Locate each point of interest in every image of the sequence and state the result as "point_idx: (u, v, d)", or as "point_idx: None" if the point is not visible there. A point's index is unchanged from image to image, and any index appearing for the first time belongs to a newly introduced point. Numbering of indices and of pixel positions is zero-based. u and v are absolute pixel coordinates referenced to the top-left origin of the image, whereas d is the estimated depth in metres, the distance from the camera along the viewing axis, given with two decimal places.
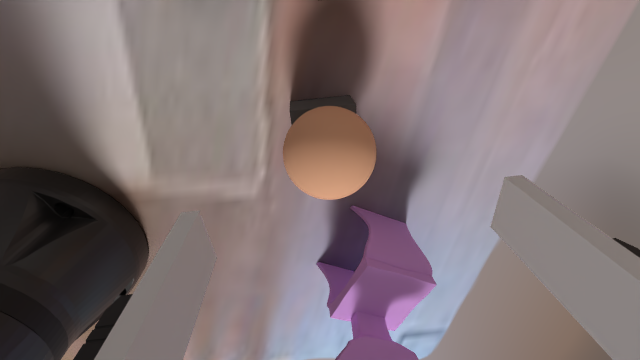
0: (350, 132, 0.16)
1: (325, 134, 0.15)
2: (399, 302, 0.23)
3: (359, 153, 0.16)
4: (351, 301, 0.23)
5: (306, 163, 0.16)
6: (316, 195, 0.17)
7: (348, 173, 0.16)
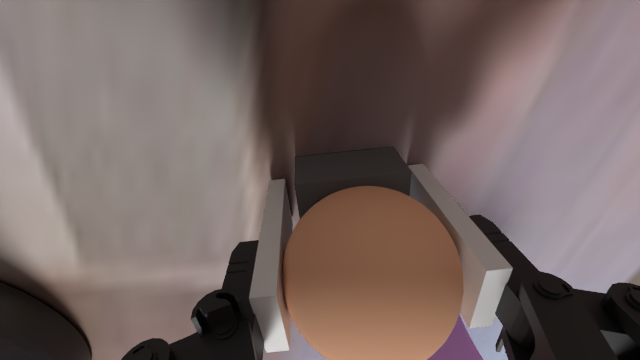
0: (426, 269, 0.07)
1: (374, 277, 0.07)
2: None
3: (444, 311, 0.07)
4: None
5: (331, 332, 0.07)
6: None
7: (420, 353, 0.07)
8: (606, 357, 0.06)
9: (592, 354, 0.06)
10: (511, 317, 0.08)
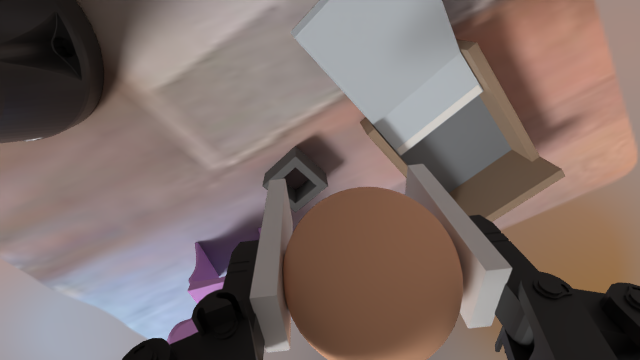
0: (426, 270, 0.07)
1: (375, 277, 0.07)
2: None
3: (444, 311, 0.07)
4: (213, 290, 0.28)
5: (331, 332, 0.07)
6: None
7: (420, 353, 0.07)
8: (605, 357, 0.06)
9: (591, 354, 0.06)
10: (510, 317, 0.08)
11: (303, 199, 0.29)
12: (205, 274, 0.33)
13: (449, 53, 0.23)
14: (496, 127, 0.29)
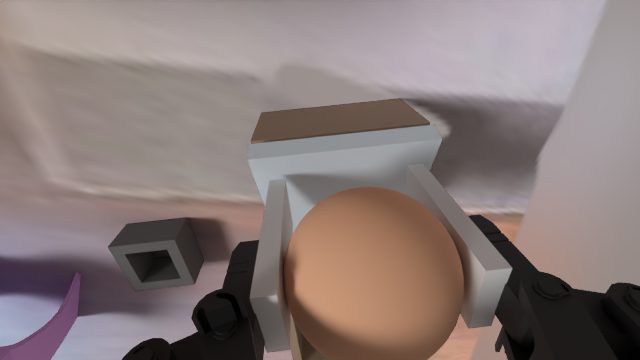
0: (426, 270, 0.07)
1: (375, 277, 0.07)
2: None
3: (445, 311, 0.07)
4: None
5: (332, 332, 0.07)
6: None
7: (421, 352, 0.07)
8: (605, 357, 0.06)
9: (591, 354, 0.06)
10: (510, 317, 0.08)
11: (154, 283, 0.22)
12: None
13: None
14: None
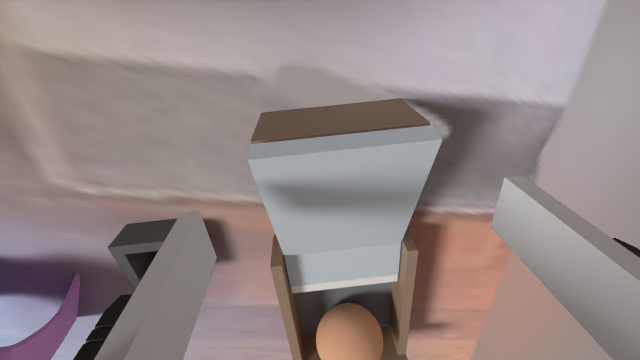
0: None
1: None
2: None
3: None
4: None
5: None
6: None
7: None
8: None
9: None
10: None
11: None
12: None
13: (392, 240, 0.21)
14: (388, 304, 0.28)
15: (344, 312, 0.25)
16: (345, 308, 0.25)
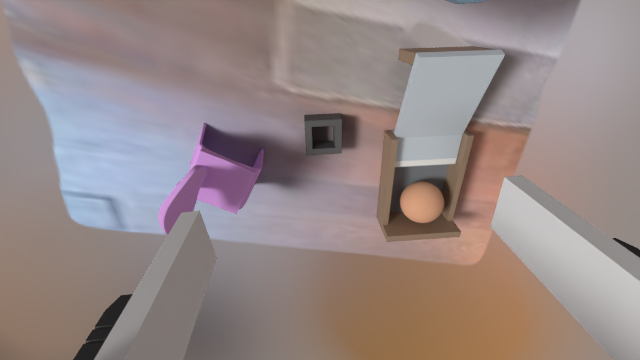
0: (437, 207, 0.38)
1: (428, 208, 0.38)
2: (217, 194, 0.34)
3: (438, 213, 0.39)
4: (218, 164, 0.32)
5: (417, 216, 0.39)
6: (414, 221, 0.41)
7: (432, 220, 0.39)
8: None
9: None
10: None
11: (319, 150, 0.37)
12: None
13: (458, 130, 0.37)
14: (442, 190, 0.44)
15: (420, 182, 0.40)
16: None
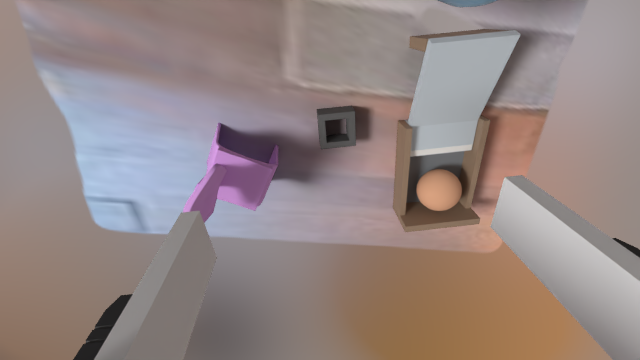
0: (455, 193, 0.38)
1: (446, 194, 0.38)
2: (236, 192, 0.34)
3: (457, 200, 0.38)
4: (236, 162, 0.32)
5: (435, 203, 0.39)
6: (432, 209, 0.41)
7: (451, 206, 0.39)
8: None
9: None
10: None
11: (333, 143, 0.37)
12: None
13: (473, 116, 0.36)
14: (458, 178, 0.43)
15: (436, 169, 0.40)
16: (435, 169, 0.41)
